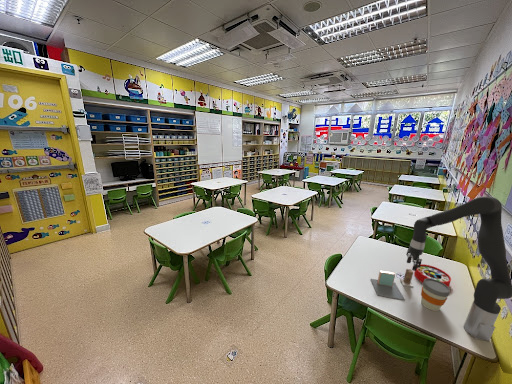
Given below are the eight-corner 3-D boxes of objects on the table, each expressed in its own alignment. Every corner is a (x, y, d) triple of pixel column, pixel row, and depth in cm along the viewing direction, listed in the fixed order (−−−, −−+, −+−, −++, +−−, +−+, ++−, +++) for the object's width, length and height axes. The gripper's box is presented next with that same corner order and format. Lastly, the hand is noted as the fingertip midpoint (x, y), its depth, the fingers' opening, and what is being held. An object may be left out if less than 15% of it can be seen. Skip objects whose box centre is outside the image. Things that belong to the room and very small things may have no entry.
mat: (404, 300, 131) (405, 299, 131) (377, 295, 135) (377, 294, 135) (394, 283, 146) (395, 282, 146) (370, 279, 150) (370, 278, 150)
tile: (392, 286, 142) (395, 274, 139) (378, 284, 144) (380, 272, 141) (391, 284, 144) (394, 272, 141) (377, 282, 146) (379, 270, 143)
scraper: (413, 287, 143) (416, 274, 140) (403, 285, 144) (407, 272, 141) (409, 281, 149) (412, 268, 145) (399, 280, 150) (403, 267, 147)
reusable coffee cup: (444, 317, 120) (452, 296, 116) (418, 306, 127) (424, 286, 122) (441, 303, 130) (448, 283, 126) (417, 294, 137) (422, 275, 132)
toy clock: (410, 262, 161) (439, 266, 158) (408, 269, 163) (437, 272, 159) (425, 279, 142) (458, 284, 139) (423, 286, 144) (456, 291, 140)
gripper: (429, 252, 130) (422, 274, 135) (418, 241, 144) (412, 261, 148) (415, 251, 132) (409, 272, 137) (405, 240, 145) (400, 259, 150)
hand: (411, 266), depth 143 cm, fingers open, 8 cm apart
